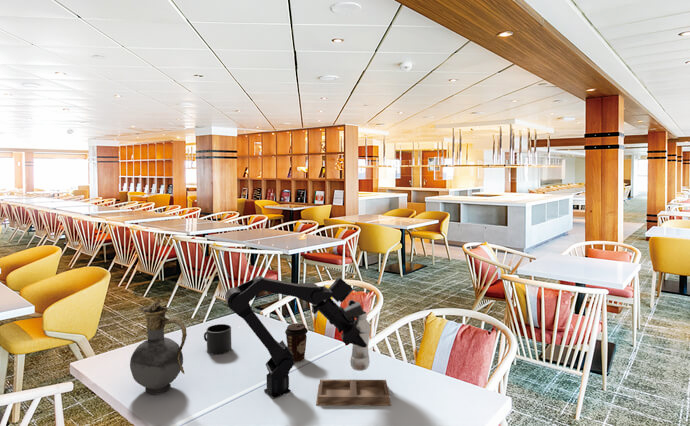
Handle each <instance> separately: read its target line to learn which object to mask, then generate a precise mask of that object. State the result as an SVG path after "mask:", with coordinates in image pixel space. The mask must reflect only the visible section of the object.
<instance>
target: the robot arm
mask: <svg viewBox="0 0 690 426" xmlns="http://www.w3.org/2000/svg"><path fill="white" fill-rule="evenodd" d="M353 291H354V289H353V286H351V285H350V284H349V283H348V282H346V281H344V280H343V279H342V278H341V277H340V276H337V277H336V279H335V280H334V281H333V283H332V284H331V285H330V286H329V287H327V286H319V285H318V284H316V283H314V282H303V283H293V282H288V281H284V280H278V279H274V278H268V277H263V276H262V275H258V276H255V277H253V278H251V279H250V280H248V281H246V282H243V283H240V284H239V285H238V286H237V287H236V286H235V287H231V288H229V289H227V291H226V292H225V294H224V295H225V296H224V299H225V302H226V304H227V306H228V308H229V309H230V310H231V311H232V312H233V313H234V314H236V315H237V316H239V317H240V318H241V319H242V320H244V321H245V323H246V324H247V325H248V326H249V328H250V329H251V330H252V332H253V333H254V334H255V336H257V338H258V340H259V341H260V342H261V343H262V344H263V346H264V347H265V348H266V350H267V351H268V354H269V356H270V358H269V359H268V360H267V362H266V363H265V366H266V370H267V371H268V373H267V374H266V388H265V389H263V391H264V393H266V394H267V395H269V396H270V397H271V398H273V399H277V398H279V397H282V396H284V395H287V394H289V393H291V389H290V376H289V374H290V371H291V369H292V368H293V367H294V364H295V362H294V359H293V356H294V355H293V354H292V352H291V351H290V349H289V348H288V347H287V345H286V343H285V342H284V340H280V342H279V341H277V340H276V339H275V338H274V336H273V335H272V333H271V332H270V331H269V330H268V329H267V327H266V326H265V325H264V324H263V322H262V321H261V319H259V316H257V314H256V313H255V312H254V310H253V308H252V306H251V304H250V303H249V302H251V301H253V300H254V299H255V297H257V296H258V295H259V294H260V293H261V292H266V293H273V294H278V295H284V296H288V297H294V298H297V299H300V300H302V301H304V302H306V303H309V304H311V313H313V315H315V314H317V313H318V312H319V313H320V314H321V315H323V317H324V318H325V319H327V320H328V323H329V324H331V325H333V326H334V327H335V328H336V329H337V331H338V333H340V334H341V340H342V342H343V344H345V345H346V346H349V344H352V345H353V344H355V345H358V346H361V347H364V348H365V347H366V346H367V344H366V343H365V342H364V340H363V339H362V337H361V336H360V335H359V333H360V329H359V327H357V326H356V325H355V324H353V323H354V321H355V320H356V317H357V316H359V315H362V314H364V311H365V310H363V307H362V305H361V303H360V301H356V300H353V299H350V300H348V305H347V306H346V307H344V308H343V306H340V305H338V304H337V303H339V302H340V303H343V302H344V301H346V299H347V298H348V296H349V295H351V293H352V292H353ZM336 302H337V303H336Z"/></svg>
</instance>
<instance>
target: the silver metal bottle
mask: <svg viewBox="0 0 690 426" xmlns="http://www.w3.org/2000/svg"><path fill="white" fill-rule="evenodd" d="M363 311H364V314H362V315H359V316H357V317H355V321H354V323H353V324H355V325H356V326H357V327H359V329H360V333H359V335H360V336H361V337H362V339H363V340H364V342H365V343H366V344H367V346H366V347H365V348H364V347H361V346H358V345H355V344H352V351H351V356H350V360H349V361H350V362H349V364H350V366H351V368H352V370H354V371H359V372H363V371H365V370H367V369H369V367H370V362H371V361H370V355H369V354H370V353H369V343H370V341H369V340H370V334H371V328H372V327H371V324H370V321H368V320H367V318H368V315H367V313H368V312H367V311H366V310H363Z"/></svg>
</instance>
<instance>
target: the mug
mask: <svg viewBox="0 0 690 426" xmlns="http://www.w3.org/2000/svg"><path fill="white" fill-rule="evenodd" d="M203 340H204V341H205V342H206V351H207V353H209V354H210V355H223V354H226V353H228V352H230V351H231V350H232V327H231V325H229V324H226V323H225V324H224V323H222V324H221V323H220V324H212V325H210V326H208V327H207V328H206V332H204V334H203Z"/></svg>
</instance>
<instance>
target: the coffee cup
mask: <svg viewBox="0 0 690 426" xmlns="http://www.w3.org/2000/svg"><path fill="white" fill-rule="evenodd" d="M308 332H309V331H308V328H307V327H306V324H304V323H290V324H289V325H287V327H286V329H285V332H284V333H285V335H286V337H285V338H286V344H287V345H286V346H287V347H288V348H289V349H290V351H291V352H292V354H293V355H294V356H293V359H294V363H301V362H303V361H304V360H305V358H306V357H305V355H306V346H307V333H308Z"/></svg>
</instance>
